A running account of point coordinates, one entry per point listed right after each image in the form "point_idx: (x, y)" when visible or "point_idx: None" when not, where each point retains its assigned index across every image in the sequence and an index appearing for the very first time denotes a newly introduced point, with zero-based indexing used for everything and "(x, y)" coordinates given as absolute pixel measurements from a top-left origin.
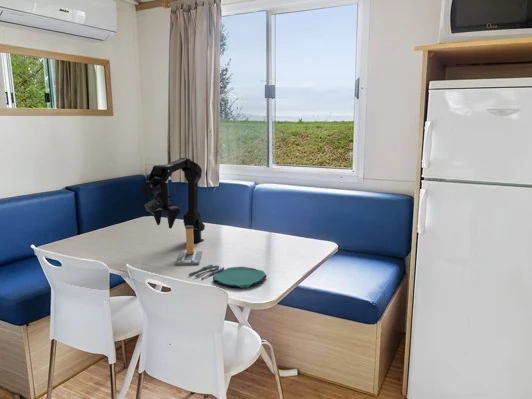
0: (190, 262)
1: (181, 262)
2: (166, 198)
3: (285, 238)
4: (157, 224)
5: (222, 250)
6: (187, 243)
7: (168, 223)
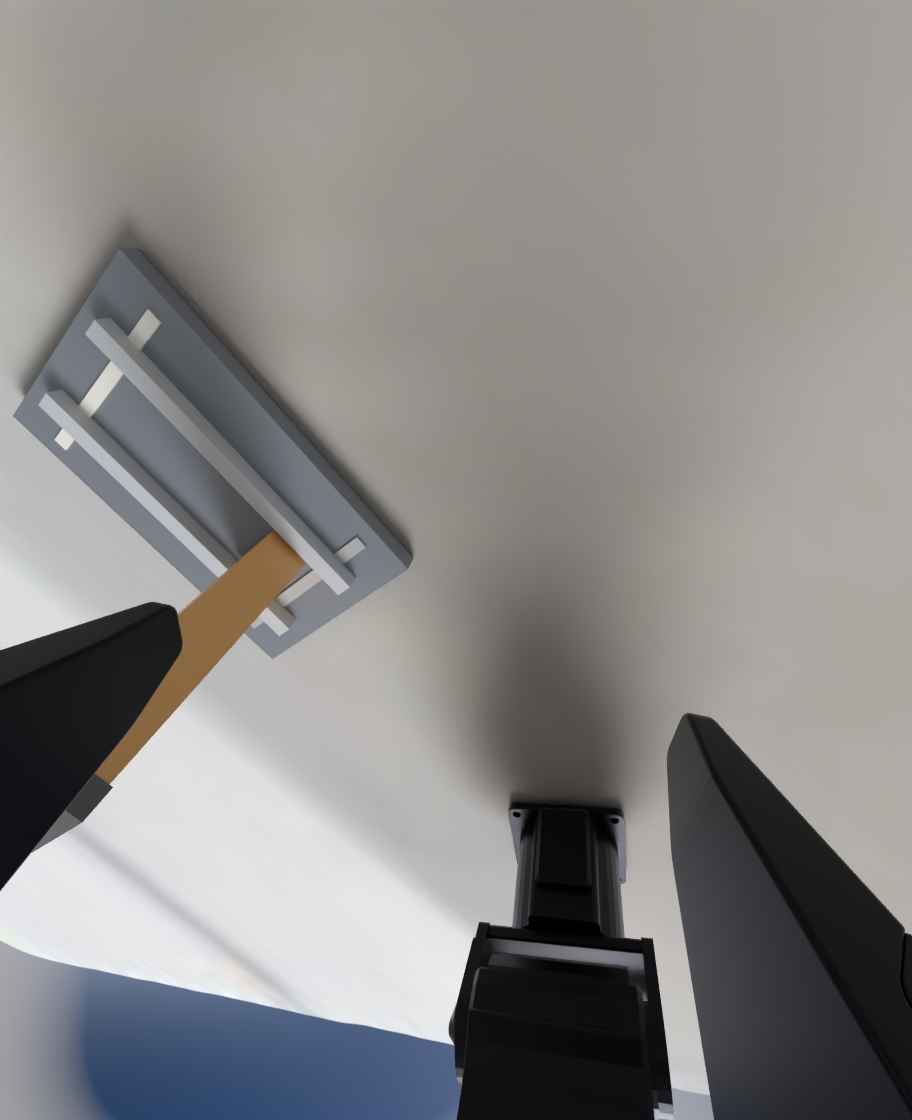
0: (56, 371)
1: (104, 312)
2: None
3: (184, 966)
4: (696, 721)
5: (232, 746)
6: (201, 596)
7: (20, 669)
